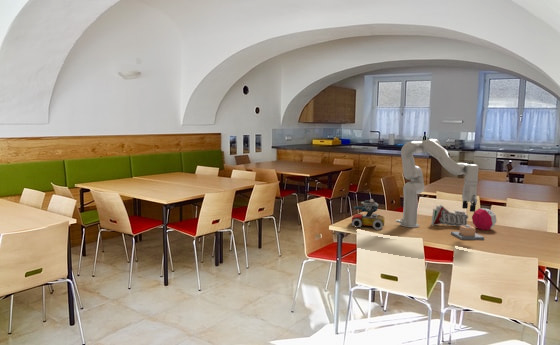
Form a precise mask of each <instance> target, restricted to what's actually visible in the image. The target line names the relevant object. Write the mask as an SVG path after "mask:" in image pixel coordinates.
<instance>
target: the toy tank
mask: <svg viewBox="0 0 560 345" xmlns="http://www.w3.org/2000/svg"><path fill="white" fill-rule="evenodd" d="M360 204H361V205H362V206H359V205H358V206H353V209H354V210H361V212H363V213H364V212H365V213H366V214H363V213H362V214H361V213H359V212H358V213H356V214H353V215H352V218H351V225H352V227H353V226H356V227H360V228H361V227H362V226H370V227H372V228H373V229H375V230H377V231H379V230H382V229H383V227H384V226H385V219H386V218H385V217H384V216H383V215H381V214H377V213H375V212H377V211H378V207H379V203H377V202H375V200H374V199H373V198H371V199H369V200H367V199H365V200H364V201H361V202H360Z"/></svg>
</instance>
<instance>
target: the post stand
mask: <svg viewBox="0 0 560 345" xmlns="http://www.w3.org/2000/svg"><path fill="white" fill-rule="evenodd" d="M470 226H471V225H470V224H467V225H466V226H465V227H466V228H470ZM450 235H452V236H454V237H456V238H458V239H460V240H468V241H469V240H474V241H475V240H485V237H484V236H483V235H481V234H478V233H476V232H475V236H464V235H462V234H460V233H459V231H450Z"/></svg>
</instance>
